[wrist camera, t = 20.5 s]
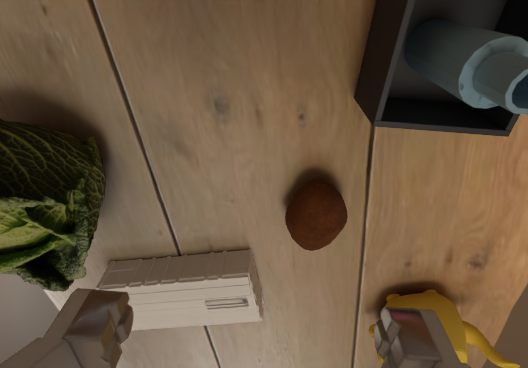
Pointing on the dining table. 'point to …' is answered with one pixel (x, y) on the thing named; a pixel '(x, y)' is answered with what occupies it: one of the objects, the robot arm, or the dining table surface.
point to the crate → (416, 85)
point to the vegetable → (47, 203)
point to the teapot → (448, 325)
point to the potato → (316, 215)
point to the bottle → (472, 63)
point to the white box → (188, 289)
